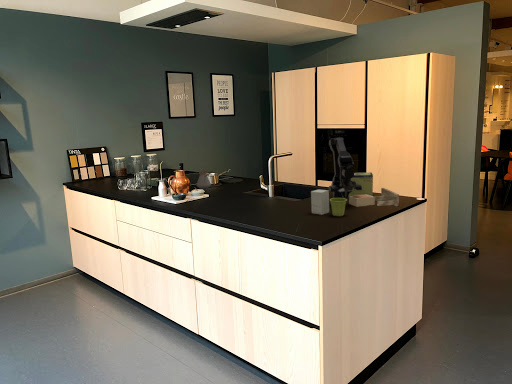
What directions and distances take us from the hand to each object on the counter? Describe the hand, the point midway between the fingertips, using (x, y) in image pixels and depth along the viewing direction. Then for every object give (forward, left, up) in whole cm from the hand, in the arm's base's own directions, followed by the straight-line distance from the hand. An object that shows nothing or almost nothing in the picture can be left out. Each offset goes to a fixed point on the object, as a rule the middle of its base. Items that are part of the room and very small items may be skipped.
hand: (345, 202), depth 251 cm
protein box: (+16, +20, -2) cm, 26 cm away
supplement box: (-19, -14, -2) cm, 24 cm away
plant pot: (-11, -22, -2) cm, 25 cm away
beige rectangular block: (+10, 0, -2) cm, 10 cm away
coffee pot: (-84, +90, -2) cm, 123 cm away
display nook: (+22, 0, -2) cm, 22 cm away
